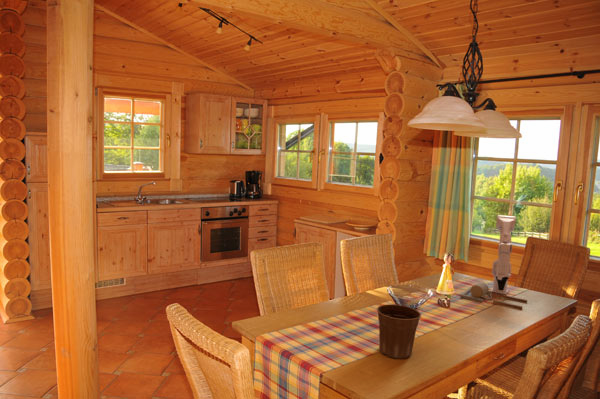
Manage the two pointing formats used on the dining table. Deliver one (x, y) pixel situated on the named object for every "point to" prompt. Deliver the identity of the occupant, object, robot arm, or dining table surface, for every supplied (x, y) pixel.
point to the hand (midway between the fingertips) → (501, 290)
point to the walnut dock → (508, 303)
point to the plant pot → (397, 330)
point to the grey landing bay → (472, 297)
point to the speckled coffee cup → (480, 290)
